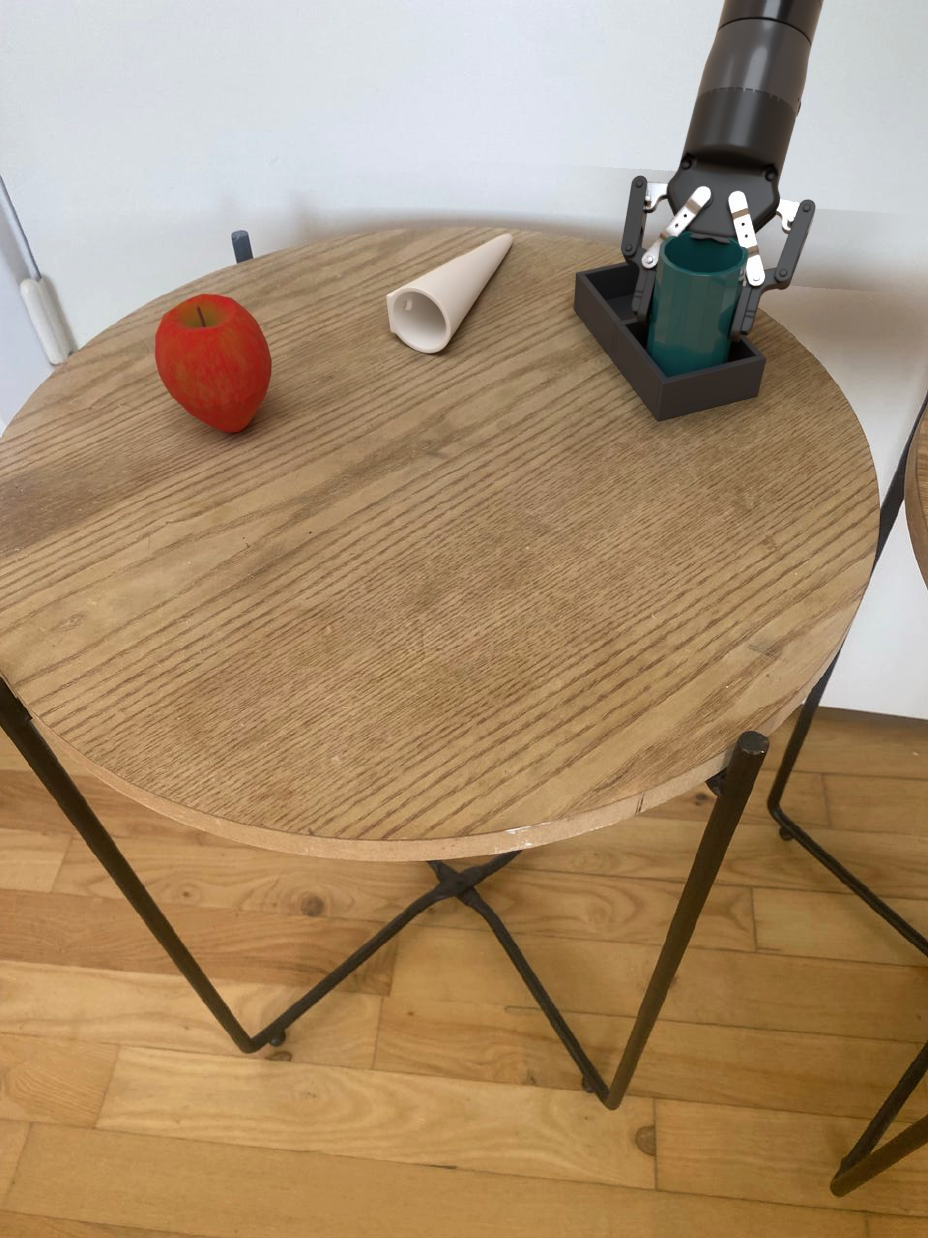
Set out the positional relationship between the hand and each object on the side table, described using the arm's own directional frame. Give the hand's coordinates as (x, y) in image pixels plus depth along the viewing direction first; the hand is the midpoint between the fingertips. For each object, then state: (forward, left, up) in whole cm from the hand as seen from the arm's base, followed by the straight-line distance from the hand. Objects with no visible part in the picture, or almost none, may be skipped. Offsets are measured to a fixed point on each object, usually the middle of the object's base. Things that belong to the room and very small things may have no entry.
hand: (688, 330), depth 73 cm
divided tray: (+2, -5, -5) cm, 8 cm away
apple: (+35, +10, -6) cm, 37 cm away
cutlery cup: (0, -2, -4) cm, 5 cm away
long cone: (+19, -11, -6) cm, 23 cm away
